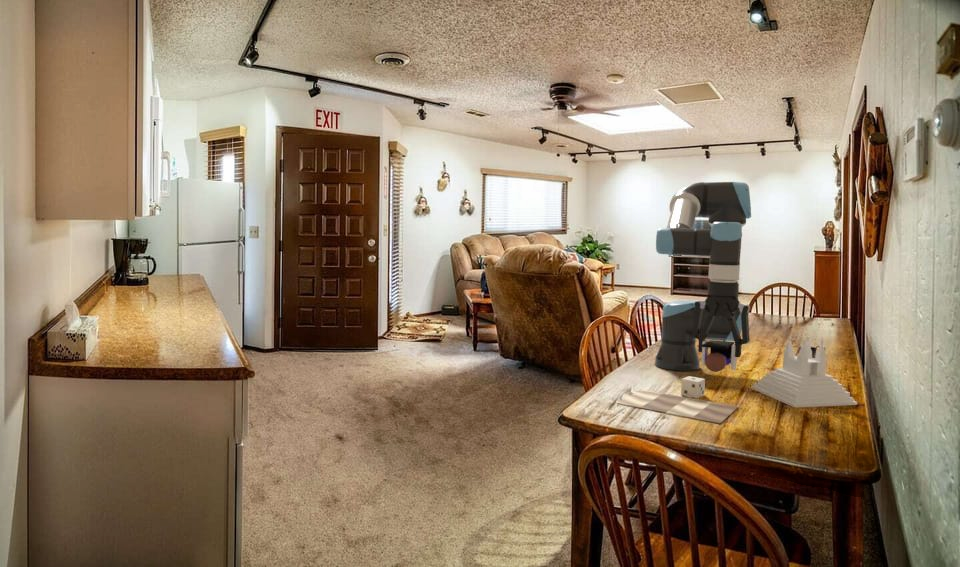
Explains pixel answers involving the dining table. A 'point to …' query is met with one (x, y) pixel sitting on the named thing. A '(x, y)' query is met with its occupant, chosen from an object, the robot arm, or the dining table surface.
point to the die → (693, 387)
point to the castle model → (804, 380)
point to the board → (679, 406)
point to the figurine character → (718, 355)
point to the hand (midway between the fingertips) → (718, 366)
